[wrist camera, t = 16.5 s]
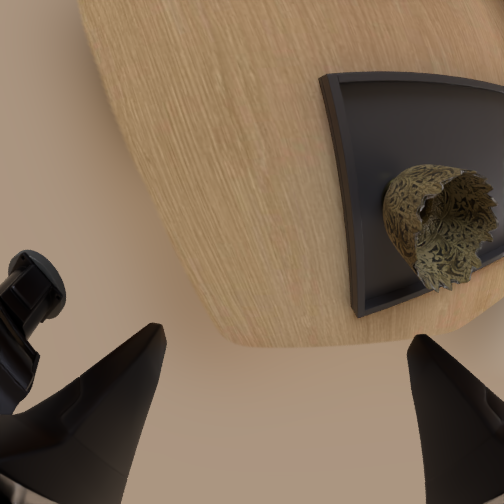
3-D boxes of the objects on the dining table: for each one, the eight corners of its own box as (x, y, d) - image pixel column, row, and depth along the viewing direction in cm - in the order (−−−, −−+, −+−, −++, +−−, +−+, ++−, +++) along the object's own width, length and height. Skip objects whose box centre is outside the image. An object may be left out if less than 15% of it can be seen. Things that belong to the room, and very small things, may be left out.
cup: (403, 252, 21) (458, 305, 14) (338, 218, 19) (393, 274, 12) (441, 178, 18) (510, 210, 11) (382, 130, 17) (460, 144, 9)
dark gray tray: (350, 306, 24) (357, 318, 22) (318, 77, 15) (326, 73, 14) (546, 222, 22) (553, 226, 21) (548, 102, 14) (557, 104, 12)
